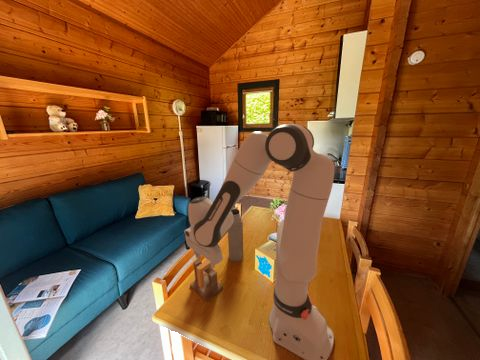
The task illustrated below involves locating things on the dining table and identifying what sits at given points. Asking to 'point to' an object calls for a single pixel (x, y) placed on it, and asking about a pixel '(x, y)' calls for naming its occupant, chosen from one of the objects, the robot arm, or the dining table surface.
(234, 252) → the thermos bottle
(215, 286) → the hook rail
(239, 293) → the dining table surface
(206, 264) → the cord bight
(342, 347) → the dining table surface
